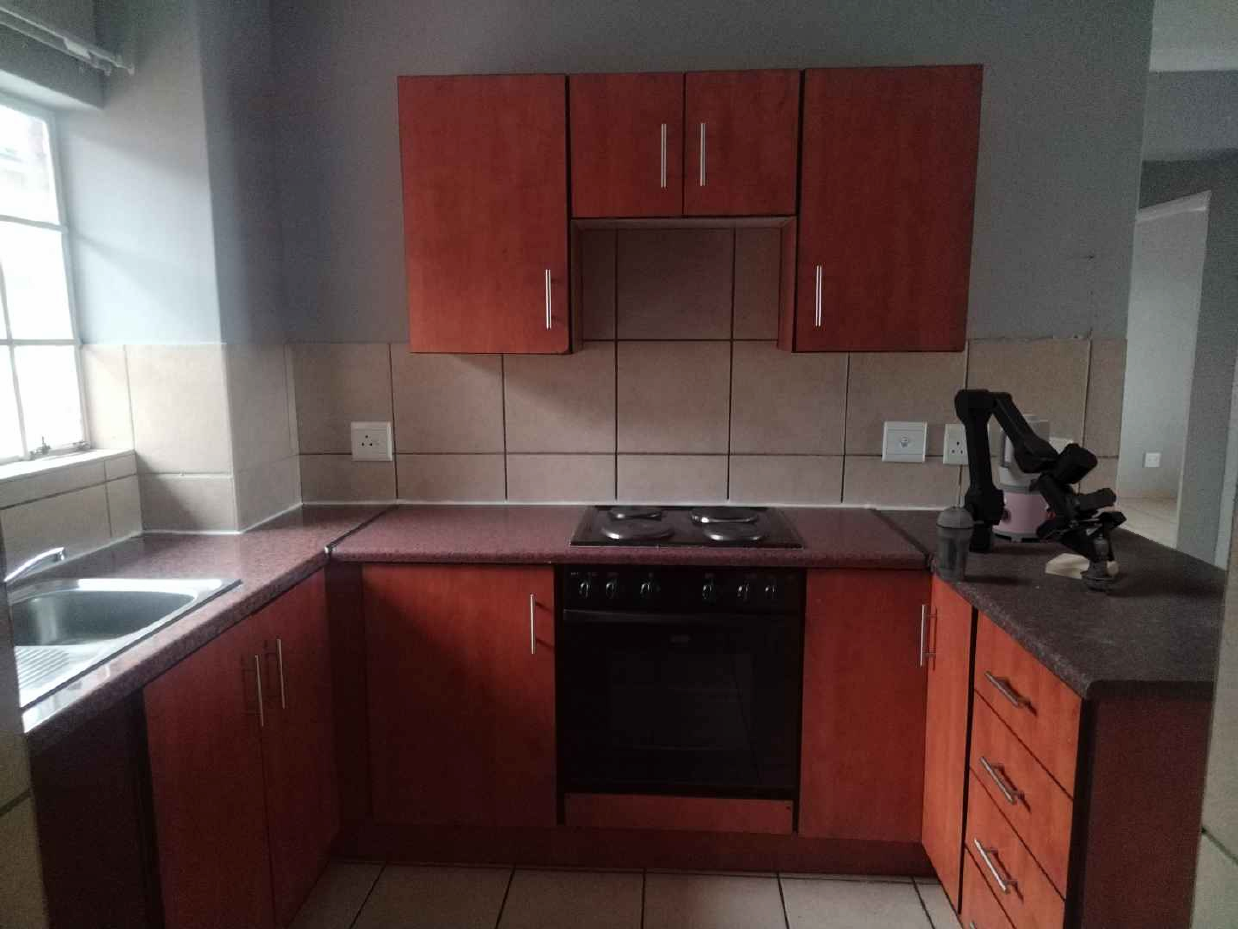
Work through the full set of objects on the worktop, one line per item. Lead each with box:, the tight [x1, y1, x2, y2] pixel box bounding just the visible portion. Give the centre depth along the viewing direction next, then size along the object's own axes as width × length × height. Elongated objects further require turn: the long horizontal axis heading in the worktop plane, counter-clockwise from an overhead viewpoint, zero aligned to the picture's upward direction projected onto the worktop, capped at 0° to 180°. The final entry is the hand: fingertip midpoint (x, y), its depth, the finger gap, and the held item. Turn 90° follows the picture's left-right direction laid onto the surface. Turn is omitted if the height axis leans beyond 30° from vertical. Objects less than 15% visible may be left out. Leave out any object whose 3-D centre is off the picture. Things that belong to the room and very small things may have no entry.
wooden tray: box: [1044, 552, 1119, 580], centre depth 162 cm, size 11×11×2 cm
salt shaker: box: [1080, 534, 1116, 597], centre depth 148 cm, size 6×6×12 cm
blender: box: [993, 413, 1051, 543], centre depth 191 cm, size 16×12×32 cm
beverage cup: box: [936, 484, 974, 582], centre depth 158 cm, size 7×7×20 cm
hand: (1105, 561), depth 147 cm, fingers closed on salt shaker, 3 cm apart
